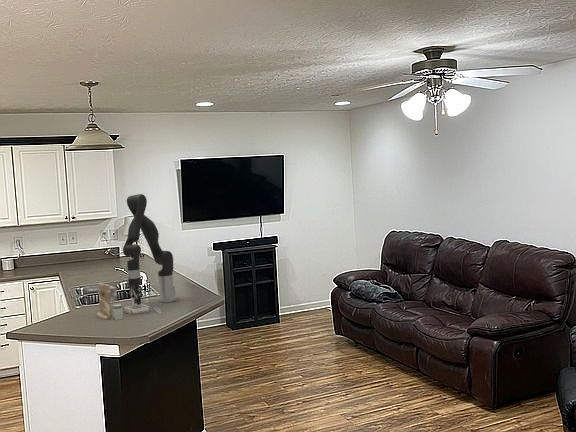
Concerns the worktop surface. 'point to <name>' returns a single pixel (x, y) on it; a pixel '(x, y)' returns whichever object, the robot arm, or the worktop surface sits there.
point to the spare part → (135, 303)
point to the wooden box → (106, 300)
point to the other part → (117, 312)
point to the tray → (136, 311)
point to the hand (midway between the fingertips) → (136, 303)
